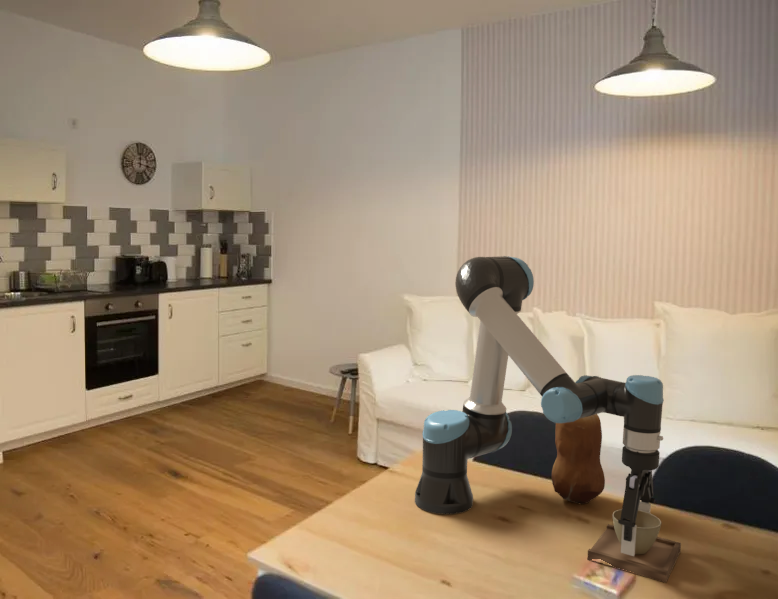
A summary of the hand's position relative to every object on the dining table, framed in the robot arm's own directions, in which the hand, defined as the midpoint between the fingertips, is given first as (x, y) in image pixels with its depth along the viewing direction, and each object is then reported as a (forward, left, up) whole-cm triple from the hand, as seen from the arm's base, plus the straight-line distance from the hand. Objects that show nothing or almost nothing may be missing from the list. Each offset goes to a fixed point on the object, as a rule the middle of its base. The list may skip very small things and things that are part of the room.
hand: (635, 541), depth 142 cm
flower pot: (0, 0, -2) cm, 2 cm away
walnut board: (0, 0, -3) cm, 3 cm away
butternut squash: (-20, +22, -3) cm, 30 cm away
